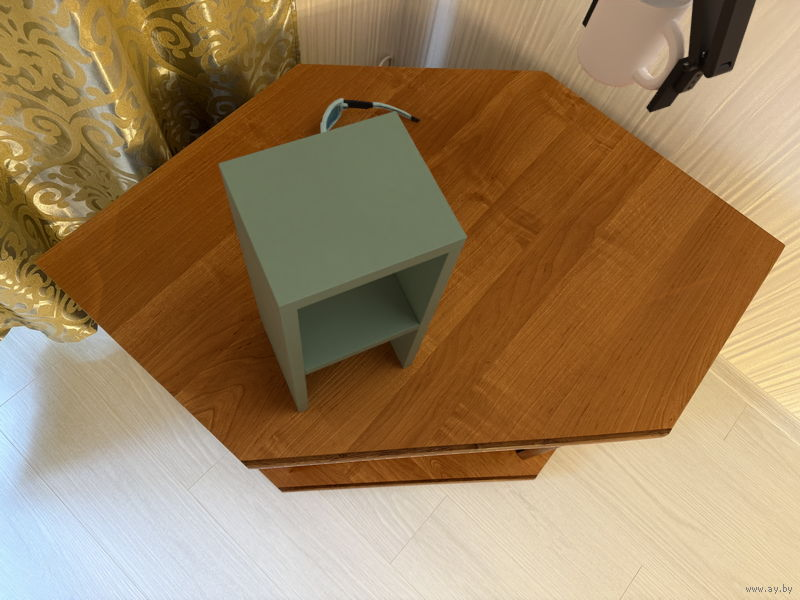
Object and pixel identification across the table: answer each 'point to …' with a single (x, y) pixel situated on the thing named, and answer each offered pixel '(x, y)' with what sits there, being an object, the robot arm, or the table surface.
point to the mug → (632, 40)
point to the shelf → (342, 244)
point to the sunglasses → (335, 113)
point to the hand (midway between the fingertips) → (624, 63)
